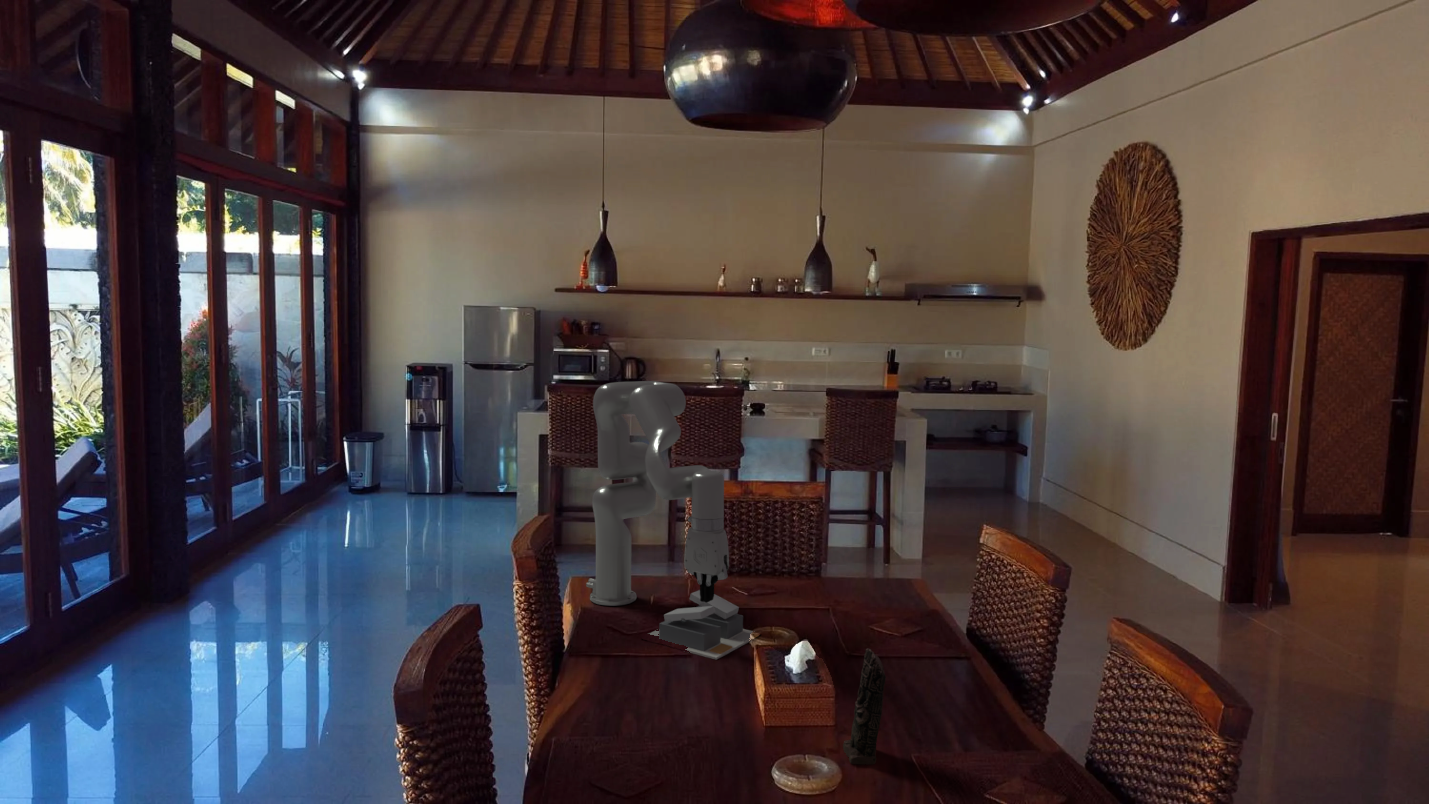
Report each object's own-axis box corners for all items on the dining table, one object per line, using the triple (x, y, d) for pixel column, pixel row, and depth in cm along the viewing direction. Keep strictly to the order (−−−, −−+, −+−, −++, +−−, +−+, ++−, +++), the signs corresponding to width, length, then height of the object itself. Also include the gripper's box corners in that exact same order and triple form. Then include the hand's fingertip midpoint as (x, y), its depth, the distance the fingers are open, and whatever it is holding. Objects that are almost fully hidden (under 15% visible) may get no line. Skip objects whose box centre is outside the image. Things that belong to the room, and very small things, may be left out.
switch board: (640, 639, 239) (640, 621, 238) (688, 617, 255) (688, 600, 255) (716, 659, 226) (716, 640, 226) (761, 635, 243) (761, 617, 243)
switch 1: (665, 623, 237) (663, 614, 237) (679, 617, 241) (677, 608, 241) (702, 621, 231) (700, 611, 231) (715, 614, 235) (713, 605, 235)
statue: (841, 747, 184) (845, 644, 182) (879, 746, 185) (883, 643, 182) (849, 765, 177) (853, 657, 175) (888, 764, 178) (893, 657, 176)
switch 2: (688, 601, 245) (690, 593, 244) (701, 595, 249) (703, 588, 249) (724, 621, 239) (726, 613, 239) (736, 615, 244) (739, 607, 243)
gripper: (672, 522, 232) (671, 598, 234) (725, 531, 223) (724, 610, 225) (690, 517, 238) (690, 591, 240) (743, 525, 230) (742, 602, 232)
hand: (706, 600), depth 233 cm, fingers closed
